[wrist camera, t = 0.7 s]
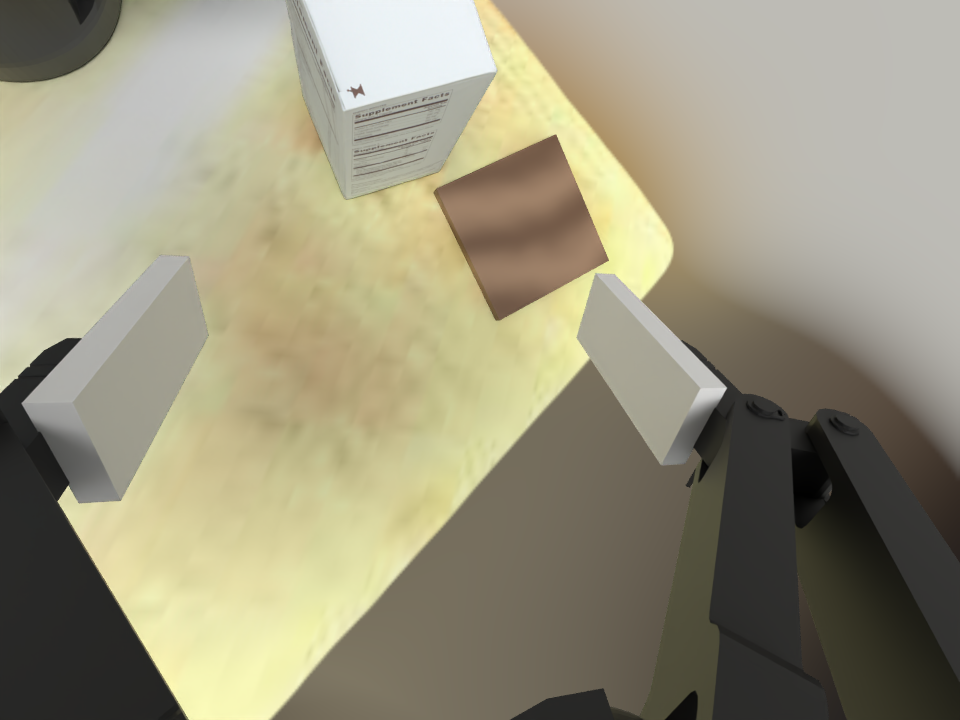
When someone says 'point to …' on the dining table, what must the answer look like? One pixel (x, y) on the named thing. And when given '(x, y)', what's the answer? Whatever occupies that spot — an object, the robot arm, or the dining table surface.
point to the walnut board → (522, 226)
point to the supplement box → (389, 83)
